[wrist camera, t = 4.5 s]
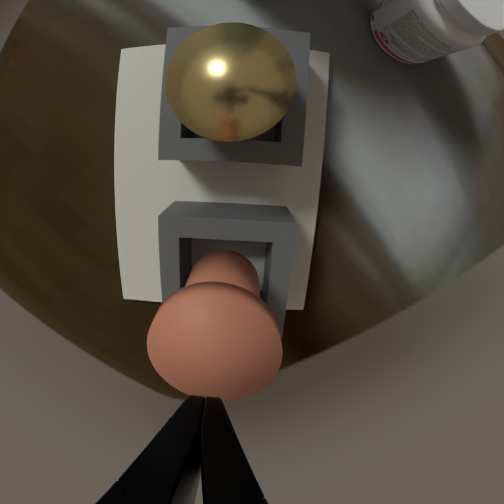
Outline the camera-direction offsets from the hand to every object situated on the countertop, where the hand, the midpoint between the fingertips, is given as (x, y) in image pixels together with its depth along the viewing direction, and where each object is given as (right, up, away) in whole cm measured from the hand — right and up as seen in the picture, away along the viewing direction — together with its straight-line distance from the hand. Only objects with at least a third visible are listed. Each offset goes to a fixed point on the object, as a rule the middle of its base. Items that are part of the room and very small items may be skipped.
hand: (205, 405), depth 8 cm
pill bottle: (+11, +18, +7) cm, 22 cm away
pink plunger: (0, +3, +8) cm, 8 cm away
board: (-1, +8, +10) cm, 13 cm away
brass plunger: (0, +12, +7) cm, 14 cm away
